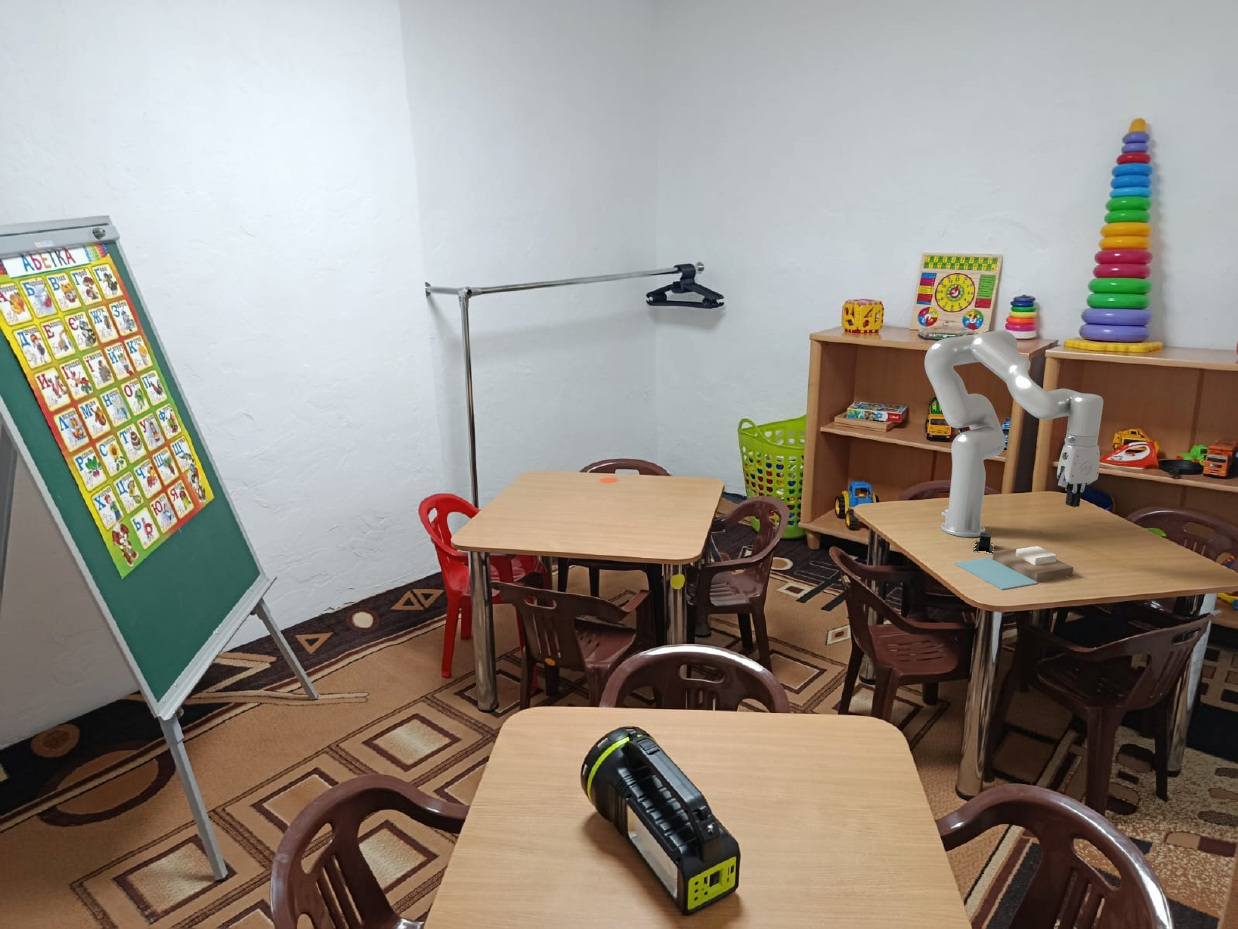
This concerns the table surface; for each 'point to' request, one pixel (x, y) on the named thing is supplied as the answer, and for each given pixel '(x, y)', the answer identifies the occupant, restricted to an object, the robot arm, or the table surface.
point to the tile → (1036, 555)
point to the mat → (996, 573)
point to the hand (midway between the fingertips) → (1072, 505)
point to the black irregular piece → (984, 543)
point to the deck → (1032, 566)
